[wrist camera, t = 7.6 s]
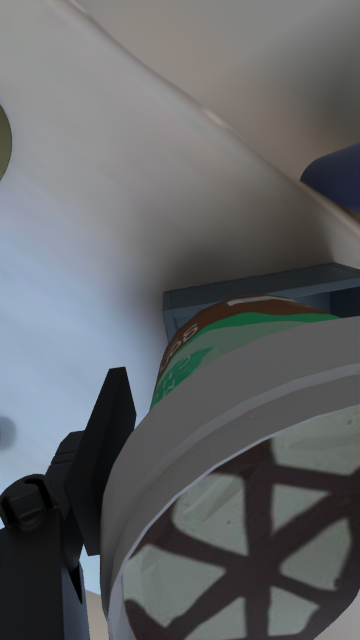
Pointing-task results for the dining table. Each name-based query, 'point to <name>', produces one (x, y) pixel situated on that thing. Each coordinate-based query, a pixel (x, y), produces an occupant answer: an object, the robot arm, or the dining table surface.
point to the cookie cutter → (4, 142)
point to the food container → (240, 481)
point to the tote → (272, 292)
